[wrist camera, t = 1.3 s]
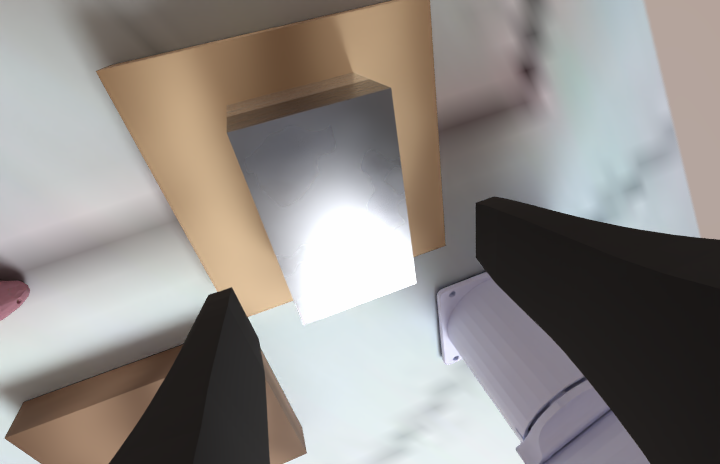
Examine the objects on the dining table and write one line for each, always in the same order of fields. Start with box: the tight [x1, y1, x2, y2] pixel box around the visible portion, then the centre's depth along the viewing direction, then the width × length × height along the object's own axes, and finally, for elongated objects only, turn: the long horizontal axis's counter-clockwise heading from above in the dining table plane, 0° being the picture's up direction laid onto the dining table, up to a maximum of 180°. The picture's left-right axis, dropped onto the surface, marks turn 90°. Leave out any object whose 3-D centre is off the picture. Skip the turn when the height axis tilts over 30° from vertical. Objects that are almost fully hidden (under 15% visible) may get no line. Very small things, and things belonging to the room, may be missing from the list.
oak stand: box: [96, 0, 446, 317], centre depth 17 cm, size 12×12×2 cm
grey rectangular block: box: [227, 73, 416, 325], centre depth 14 cm, size 5×8×4 cm, turn 13°
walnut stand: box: [5, 345, 307, 464], centre depth 22 cm, size 12×12×2 cm
